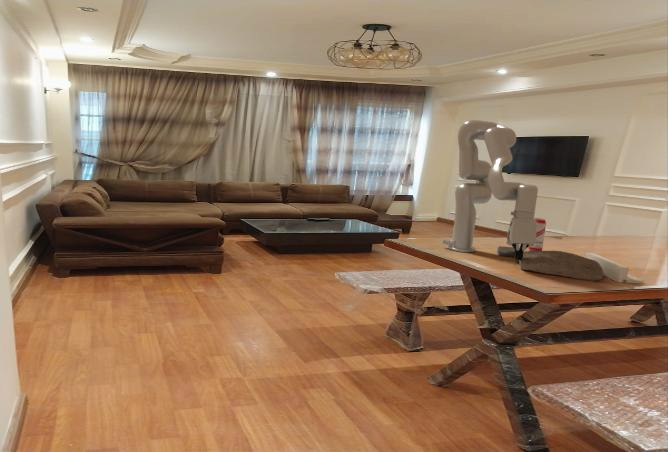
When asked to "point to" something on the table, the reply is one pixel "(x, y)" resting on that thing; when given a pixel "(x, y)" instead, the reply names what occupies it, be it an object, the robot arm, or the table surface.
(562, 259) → the stone tablet
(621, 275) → the rail
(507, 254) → the roller
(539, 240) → the beer can
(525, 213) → the robot arm
